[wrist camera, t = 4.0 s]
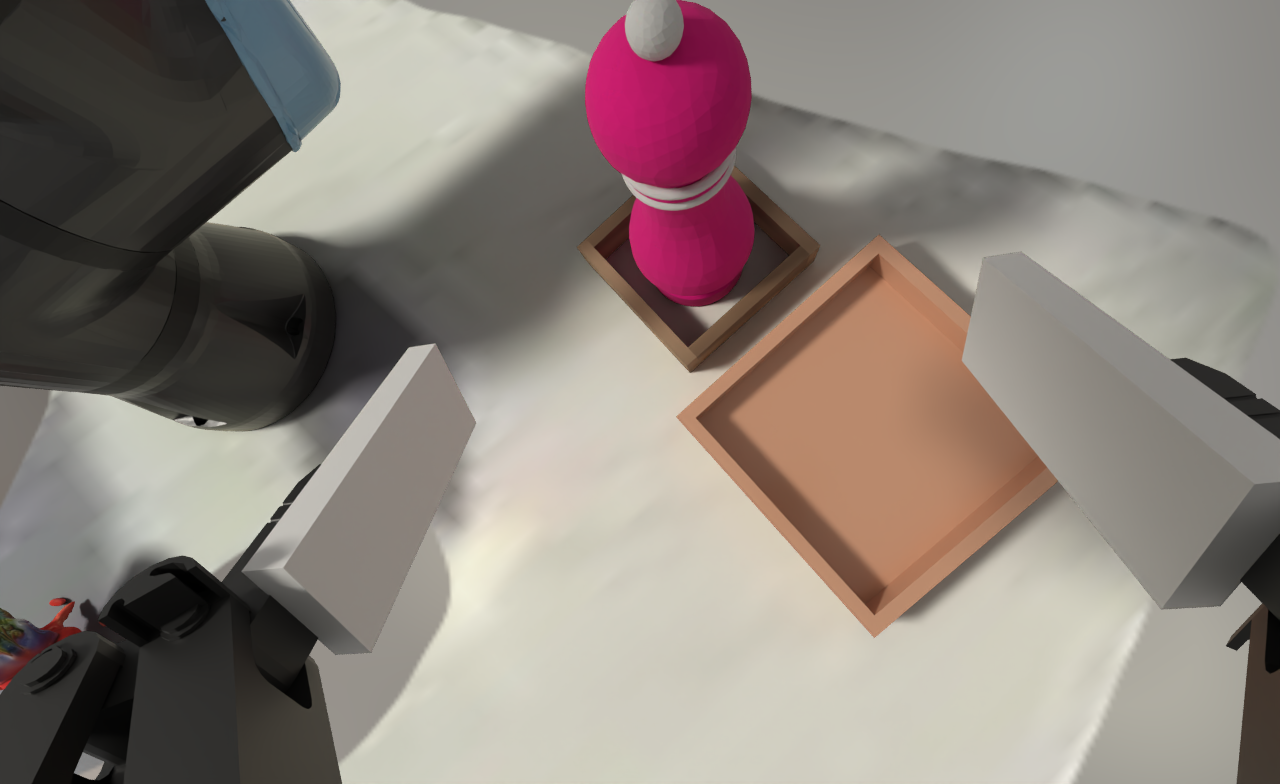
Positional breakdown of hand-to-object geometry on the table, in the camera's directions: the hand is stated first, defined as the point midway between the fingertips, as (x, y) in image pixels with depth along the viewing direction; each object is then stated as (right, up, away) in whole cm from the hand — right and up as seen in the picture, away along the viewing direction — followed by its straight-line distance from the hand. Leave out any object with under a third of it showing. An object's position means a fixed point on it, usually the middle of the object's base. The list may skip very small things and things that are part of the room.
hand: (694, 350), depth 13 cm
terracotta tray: (+12, -3, +18) cm, 22 cm away
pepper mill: (+2, +8, +21) cm, 23 cm away
